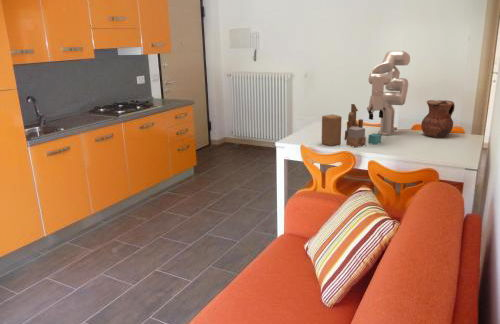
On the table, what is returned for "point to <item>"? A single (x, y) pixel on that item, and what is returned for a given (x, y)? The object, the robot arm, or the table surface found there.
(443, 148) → the table surface
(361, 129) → the tower mid
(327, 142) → the wooden block
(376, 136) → the teal cube
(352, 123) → the wooden toy
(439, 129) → the jug
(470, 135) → the table surface
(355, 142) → the tower base
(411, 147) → the table surface
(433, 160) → the table surface
